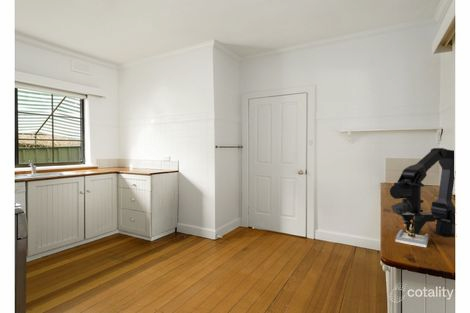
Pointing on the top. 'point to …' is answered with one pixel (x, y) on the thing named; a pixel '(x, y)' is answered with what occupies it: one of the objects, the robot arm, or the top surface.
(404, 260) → the top surface
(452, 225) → the robot arm
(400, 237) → the tray
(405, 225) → the figurine
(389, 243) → the top surface
